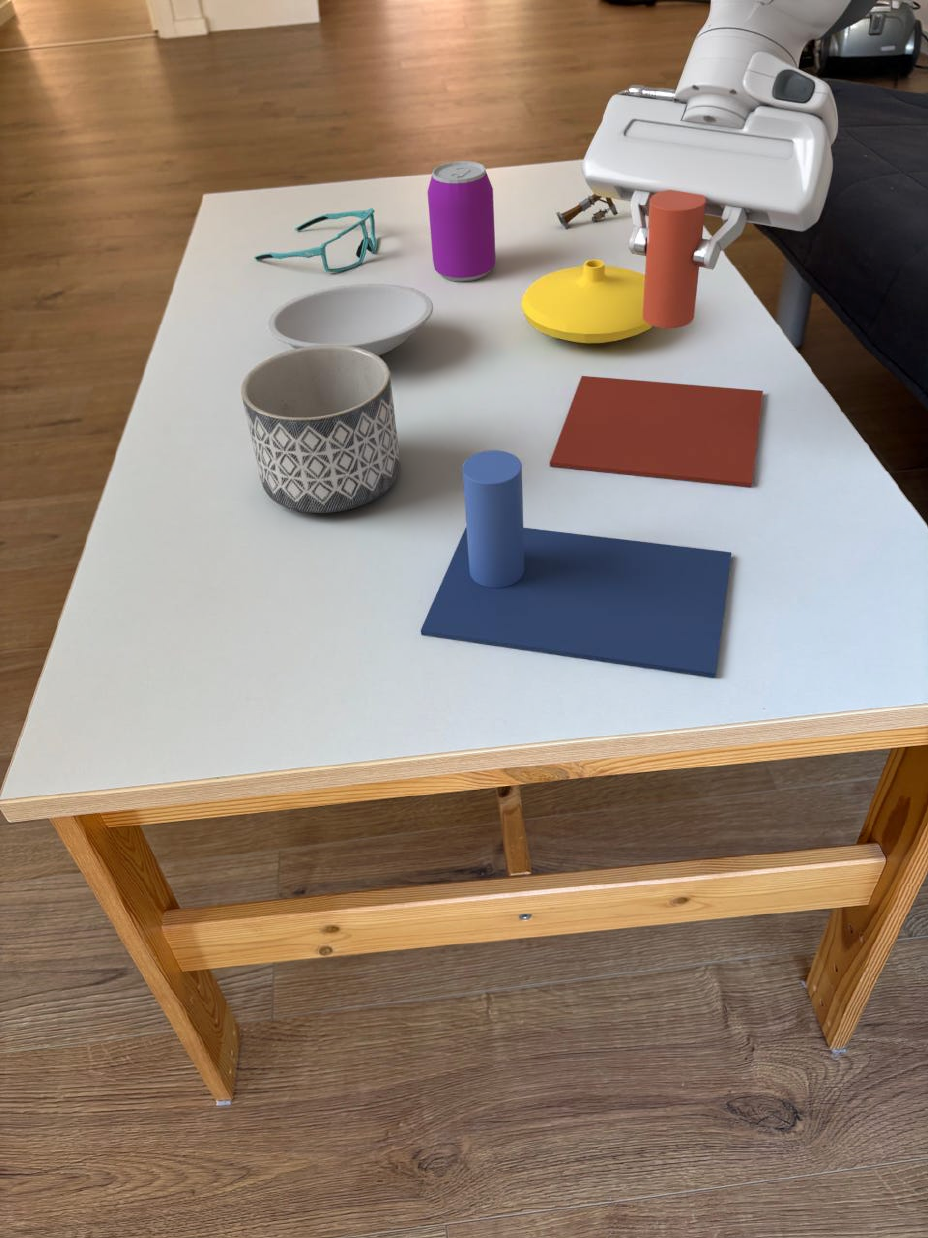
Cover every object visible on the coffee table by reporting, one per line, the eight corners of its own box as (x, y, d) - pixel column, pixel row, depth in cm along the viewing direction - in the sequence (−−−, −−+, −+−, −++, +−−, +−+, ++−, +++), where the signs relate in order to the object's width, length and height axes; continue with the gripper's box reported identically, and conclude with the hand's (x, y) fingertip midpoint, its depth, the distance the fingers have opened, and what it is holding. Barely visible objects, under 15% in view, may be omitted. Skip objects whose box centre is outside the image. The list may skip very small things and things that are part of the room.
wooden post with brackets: (625, 211, 134) (613, 181, 131) (572, 244, 135) (559, 215, 132) (620, 206, 136) (608, 176, 133) (568, 240, 137) (555, 211, 134)
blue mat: (730, 556, 82) (731, 551, 82) (715, 678, 73) (716, 673, 72) (468, 525, 88) (468, 520, 87) (420, 634, 78) (420, 630, 77)
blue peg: (529, 557, 83) (527, 453, 76) (517, 591, 80) (514, 486, 73) (477, 550, 84) (471, 447, 77) (463, 584, 81) (455, 480, 74)
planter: (396, 437, 99) (384, 337, 92) (407, 513, 89) (394, 409, 82) (265, 452, 98) (243, 352, 91) (262, 530, 89) (237, 427, 82)
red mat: (762, 394, 101) (763, 390, 100) (751, 487, 89) (752, 482, 89) (581, 379, 105) (581, 375, 104) (549, 466, 93) (549, 461, 93)
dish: (426, 316, 117) (422, 274, 114) (446, 376, 107) (443, 332, 103) (272, 337, 116) (264, 295, 112) (278, 400, 105) (269, 356, 102)
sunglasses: (345, 281, 125) (336, 240, 122) (248, 277, 132) (237, 238, 129) (399, 237, 134) (392, 198, 131) (306, 235, 141) (297, 198, 138)
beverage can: (483, 286, 122) (479, 184, 114) (424, 280, 124) (415, 179, 116) (504, 260, 127) (501, 160, 119) (447, 255, 130) (440, 156, 122)
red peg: (696, 306, 89) (708, 190, 82) (691, 330, 86) (703, 211, 79) (645, 303, 90) (653, 187, 83) (638, 326, 87) (646, 208, 80)
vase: (626, 284, 121) (629, 224, 116) (690, 341, 109) (696, 278, 105) (501, 310, 117) (499, 250, 113) (553, 372, 106) (553, 308, 101)
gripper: (605, 60, 85) (546, 220, 86) (851, 88, 76) (783, 265, 77) (626, 103, 91) (571, 252, 91) (857, 133, 82) (794, 297, 82)
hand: (670, 258), depth 84 cm, fingers closed on red peg, 4 cm apart
